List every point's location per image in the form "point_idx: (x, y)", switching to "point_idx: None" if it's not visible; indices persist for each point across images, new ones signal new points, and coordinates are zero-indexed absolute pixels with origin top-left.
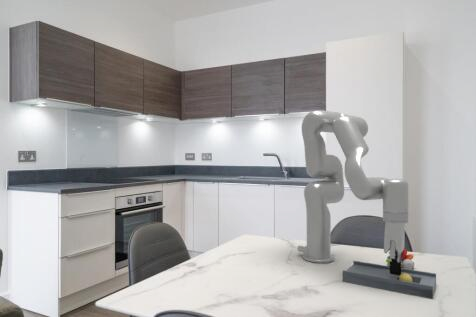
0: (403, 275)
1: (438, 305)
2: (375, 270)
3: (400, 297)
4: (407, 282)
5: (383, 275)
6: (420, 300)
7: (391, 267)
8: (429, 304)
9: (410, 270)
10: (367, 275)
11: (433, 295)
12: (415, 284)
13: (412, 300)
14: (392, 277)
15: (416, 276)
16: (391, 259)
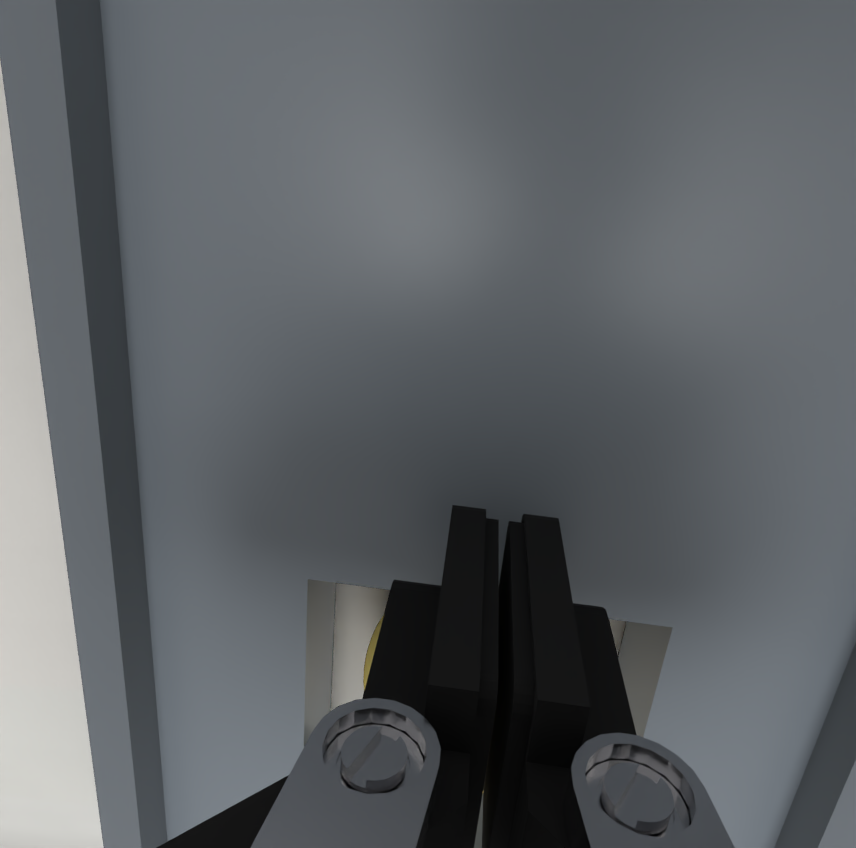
0: None
1: (45, 841)
2: (766, 157)
3: (6, 554)
4: (90, 742)
5: (437, 364)
6: (64, 726)
7: (434, 612)
8: (14, 783)
9: (827, 819)
10: (8, 50)
11: None
12: (110, 814)
13: (7, 661)
14: (395, 520)
15: None
16: (199, 830)
